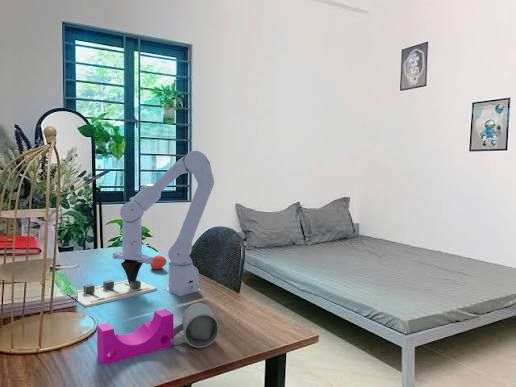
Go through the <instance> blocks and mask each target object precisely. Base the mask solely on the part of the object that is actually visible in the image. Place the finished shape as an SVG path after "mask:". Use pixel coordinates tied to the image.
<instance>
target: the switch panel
mask: <svg viewBox="0 0 516 387" xmlns="http://www.w3.org/2000/svg"><path fill="white" fill-rule="evenodd" d="M136 280H138V279H137V278H136ZM94 287H95V292H93V293H88V294H86V293H84V288H83V289H78V290H76V291H77V292H78V302H77V303H79V304H80V305H82V306H83V307H84V308H89V307H93V306H96V305H102V304H104V303H110V302H115V301H118V300H123V299H127V298H130V297H135V296H139V295H143V294H148V293H150V292H155V291H158V288H157V287H156V286H153V285H150V284H148V283H146V282H144V281H141V288H137V289H132V288H130V284H129V282H128V279H125V280H122V281H116V282H115V281H114V288H111V289H104V288H103V284H101V285H97V286H94Z"/></svg>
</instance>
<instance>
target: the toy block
mask: <svg viewBox="0 0 516 387" xmlns="http://www.w3.org/2000/svg"><path fill="white" fill-rule="evenodd" d="M173 329H174V313H173V312H171V311H170V310H168V309H166V308H164V309H160V310H155V311H154V314H153V316H152V320H149V321H145V322H143V324H141V325H140V326H139V327H138V328H137V329H135V330H134V331H132V332H130V333H126V334H116V333H115V329H114V327H113V326H111V325H110V324H109V323H108V322H105V323H99V324H97V325H96V330H97V331H96V338H97V339H96V342H97V343H96V344H97V345H96V346H97V347H96V348H97V352H96V353H97V356H96V357H97V359H98V360H99V362H101V364H102V366H105V365H109V364H112V363H115V362H116V363H117V362H119V361H123V360H127V359H130V358H134V357H138V356H141V355H145V354H149V353H152V352H156V351H159V350H164V349H166V348H170V347H174V345H172V343H171V342H170V339H173Z"/></svg>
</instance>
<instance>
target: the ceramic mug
mask: <svg viewBox="0 0 516 387" xmlns="http://www.w3.org/2000/svg"><path fill="white" fill-rule="evenodd" d="M182 331H183V335H181V336H178V337H175V336H177V335H178V334H179V333H181V332H182ZM219 333H220V325H219V322H218V319H217V318H216V316H215V313H214V311H213V310H212V309H211V307H210V306H209V305H207V304H206V303H204V302H196V303H192V304H190V305H189V306H188V307H187V308H186V309H185V310H184V312H183V315H182V323H180V324H178V325H177V326H175V327H173V339H170V342H171V343H172V345H173V346H178V345H182V344H184V343H187V344H188V345H189V346H191V347H193V348H197V349H201V348H202V349H203V348H206V347H209V346H210V345H212V344H213V343H215V341H216V339H217V338H218V336H219Z"/></svg>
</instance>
